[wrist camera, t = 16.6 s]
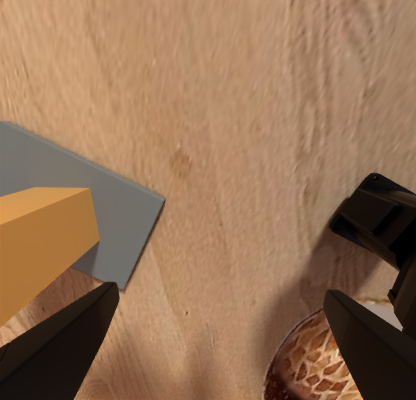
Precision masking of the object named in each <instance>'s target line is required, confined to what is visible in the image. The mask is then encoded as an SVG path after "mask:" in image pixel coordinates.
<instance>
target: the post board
mask: <svg viewBox="0 0 416 400" xmlns="http://www.w3.org/2000/svg"><path fill="white" fill-rule="evenodd" d="M34 187H51V188H90V190H91V195H92V201H93V206H94V211H95V217H96V222H97V227H98V232H99V238H100V240H99V241H98V242H97V243H96V244H95V245H94V246H93V247H91V248H90V249H89V250H88V251H87V252H86V253H85V254H83V255H82V256H81V257H80V258H79V259H78V260H77V261H76V262H74V263H73V264H72V265H71V266H70V267H71V268H74V269H76V270H78V271H81V272H83V273H85V274H88V275H90V276H92V277H94V278H97V279H99V280H101V281H104V282H108V281H111V282H116V283H117V285H118V288H120V289H122V290H123V289H124V287H125V286H126V284H127V282H128V280H129V278H130V276H131V273H132V271H133V269H134V267H135V265H136V263H137V260H138V258H139V256H140V254H141V252H142V249H143V247H144V245H145V243H146V241H147V239H148V236H149V234H150V232H151V230H152V228H153V226H154V223H155V221H156V219H157V217H158V215H159V213H160V210H161V208H162V206H163V204H164V202H165V199H166V198H165V197H163V196H161V195H159V194H157V193H155V192H153V191H151V190H149V189H147V188H145V187H143V186H141V185H138V184H136V183H134V182H132V181H130V180H128V179H126V178H124V177H122V176H120V175H118V174H116V173H114V172H112V171H110V170H108V169H106V168H104V167H102V166H100V165H98V164H96V163H94V162H92V161H89V160H87V159H85V158H83V157H81V156H79V155H77V154H75V153H73V152H71V151H69V150H67V149H65V148H63V147H61V146H59V145H57V144H55V143H53V142H51V141H49V140H47V139H45V138H42V137H40V136H38V135H36V134H34V133H32V132H30V131H28V130H26V129H24V128H22V127H20V126H18V125H16V124H14V123H12V122H9V121H0V197H2V196H5V195H9V194H13V193H16V192H20V191H23V190H27V189H30V188H34Z"/></svg>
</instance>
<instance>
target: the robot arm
mask: <svg viewBox="0 0 416 400" xmlns="http://www.w3.org/2000/svg"><path fill="white" fill-rule="evenodd" d="M375 176H376V178H375V180H373V178H374V177H375ZM335 226H337V227H336V228H334V227H335ZM329 228H330V229H331V230H332V231H333V232H335V233H336V234H338V235H340V236H342V237H344V238H346V239H348V240H350V241H352V242H354V243H356V244H358V245H360V246H362V247H364V248H366V249H368V250H369V251H371V252H373V253H375V254H377V255H378V256H379V257H381V258H382V259H383V260H384V261H386V262H387V263H388V264H390V265H391V266H392V267H394V268H395V269H396V270H398V271H399V274H398V276H397V279H396V281H395V283H394V286H393V288H392V289H390V290H389V293H388V295H387V296H388V298H389V300H390V301H391V303H392V305H393V307H394V313H395V315H396V317H397V318H398V320H399V322H400V323H401V325H402V326H403V329H402V332H401V331H400V330H399V329H397V328H395V327H394V326H392V325H391V324H389V323H388V322H386V321H385V320H383V319H382V318H380V317H379V316H377V315H376V314H374V313H373V312H371V311H370V310H368V309H367V308H365V307H364V306H362V305H361V304H359V303H358V302H356V301H354V300H353V299H351V298H350V297H348V296H347V295H345V294H344V293H342V292H341V291H339V290H335V289H328V290H327V291H326V294H325V299H324V303H323V309H324V312H325V315H326V317H327V320H328V323H329V325H330V328H331V330H332V333H333V336H334V338H335V341H336V343H337V346H338V348H339V351H340V353H341V355H342V357H343V359H344V361H345V363H346V365H347V367H348V369H349V371H350V373H351V376H352V378H353V380H354V382H355V384H356V386H357V388H358V390H359V392H360V394H361V396H362V398H363V400H416V194H415V193H413V192H411V191H409V190H407V189H406V188H404V187H402V186H400V185H398V184H397V183H395V182H393V181H391V180H390V179H388V178H386V177H384V176H382V175H381V174H378V173H371V174H369V175H368V177H367V178H366V179H365V180H364V182H363V183H362V184H361V185H360V187H359V188H358V189H357V190H356V191H355V193H354V194H353V195H352V196H351V198H350V199H349V200H348V201H347V203H346V204H345V205H344V207H343V208H342V209H341V210H340V212H339V214H338V215H337V216H336V217H335V219H334V220H333V221H332V222H331V224H330V225H329ZM118 303H119V291H118V285H117V283H116V282H111V281H108V282H105V283H103V284H102V285H100V286H99V287H97V288H95V289H94V290H92V291H91V292H89V293H87V294H86V295H84V296H83V297H81V298H79V299H78V300H76V301H75V302H73V303H71V304H70V305H68V306H66V307H65V308H63V309H62V310H60V311H58V312H57V313H55V314H54V315H52V316H50V317H49V318H47V319H46V320H44V321H42V322H41V323H39V324H38V325H36V326H34V327H33V328H31V329H30V330H28V331H26V332H25V333H23V334H22V335H20V336H18V337H17V338H15V339H13V340H12V341H11V342H10V343H7V344H5V345H4V346H2V347H1V348H0V400H74V398H75V396H76V394H77V392H78V390H79V388H80V386H81V384H82V382H83V380H84V378H85V376H86V374H87V372H88V370H89V368H90V366H91V364H92V362H93V360H94V358H95V356H96V354H97V352H98V350H99V348H100V346H101V344H102V342H103V340H104V338H105V336H106V333H107V331H108V328H109V326H110V323H111V321H112V318H113V316H114V313H115V310H116V308H117V305H118Z"/></svg>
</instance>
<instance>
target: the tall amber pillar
mask: <svg viewBox="0 0 416 400" xmlns="http://www.w3.org/2000/svg"><path fill="white" fill-rule="evenodd" d="M99 240H100V238H99V232H98V227H97V222H96V217H95V211H94V206H93V201H92V195H91V190H90V188H51V187H34V188H30V189H27V190H23V191H20V192H16V193H13V194H9V195H5V196H2V197H0V327H1V326H3V325H4V324H5V323H6V322H7V321H8V320H9V319H11V318H12V317H13V316H14V315H15V314H16V313H17V312H19V311H20V310H21V309H22V308H23V307H24V306H25V305H27V304H28V303H29V302H30V301H31V300H32V299H33V298H34V297H36V296H37V295H38V294H39V293H40V292H41V291H42V290H44V289H45V288H46V287H47V286H48V285H49V284H50V283H52V282H53V281H54V280H55V279H56V278H57V277H58V276H60V275H61V274H62V273H63V272H64V271H65V270H66V269H68V268H69V267H70V266H71V265H72V264H73V263H74V262H76V261H77V260H78V259H79V258H80V257H81V256H82V255H83V254H85V253H86V252H87V251H88V250H89V249H90V248H91V247H93V246H94V245H95V244H96V243H97V242H98V241H99Z"/></svg>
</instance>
